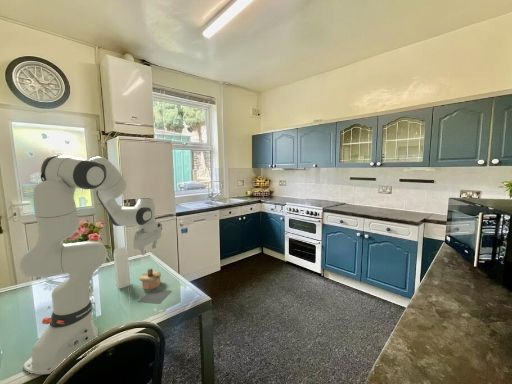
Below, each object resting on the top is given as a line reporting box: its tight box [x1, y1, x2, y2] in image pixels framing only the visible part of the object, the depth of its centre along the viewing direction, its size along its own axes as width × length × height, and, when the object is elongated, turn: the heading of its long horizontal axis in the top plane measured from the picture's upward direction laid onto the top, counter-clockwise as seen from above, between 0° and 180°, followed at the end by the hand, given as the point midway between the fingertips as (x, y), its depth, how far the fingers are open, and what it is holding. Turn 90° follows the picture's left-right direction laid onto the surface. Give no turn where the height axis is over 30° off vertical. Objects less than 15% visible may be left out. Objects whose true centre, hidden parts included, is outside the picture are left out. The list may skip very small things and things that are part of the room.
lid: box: [139, 268, 162, 283], centre depth 132 cm, size 11×11×4 cm
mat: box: [137, 288, 173, 305], centre depth 122 cm, size 12×12×1 cm
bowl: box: [140, 277, 162, 290], centre depth 133 cm, size 9×9×5 cm
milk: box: [113, 246, 131, 290], centre depth 132 cm, size 6×6×22 cm
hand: (149, 251), depth 131 cm, fingers open, 8 cm apart
